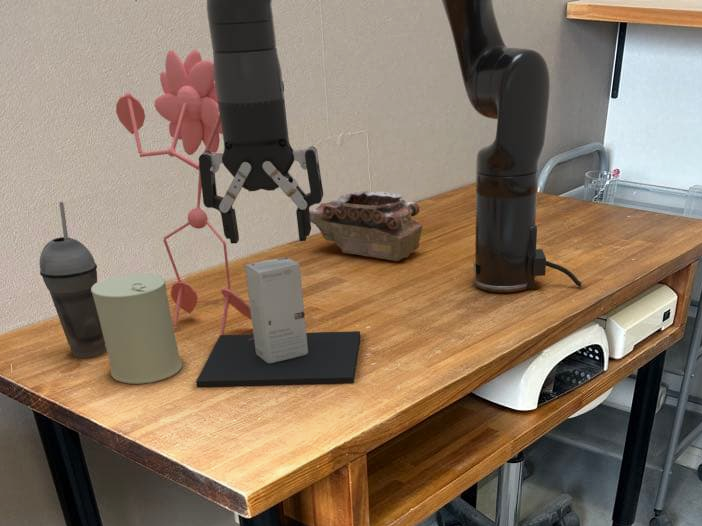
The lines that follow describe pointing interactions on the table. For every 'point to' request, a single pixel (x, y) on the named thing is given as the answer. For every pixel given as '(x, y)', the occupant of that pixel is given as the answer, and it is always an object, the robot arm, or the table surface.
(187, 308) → the figurine
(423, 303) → the table surface
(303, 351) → the cosmetic box
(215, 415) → the table surface
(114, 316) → the can
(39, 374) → the table surface
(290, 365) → the mat
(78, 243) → the beverage cup
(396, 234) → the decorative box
